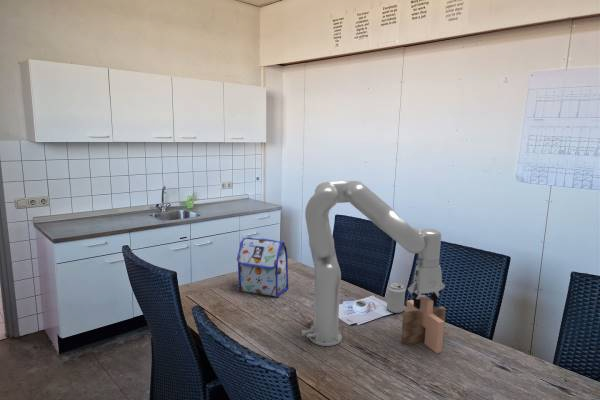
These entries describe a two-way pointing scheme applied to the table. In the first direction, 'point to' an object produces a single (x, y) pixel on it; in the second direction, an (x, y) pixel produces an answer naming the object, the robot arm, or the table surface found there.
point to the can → (396, 298)
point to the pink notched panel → (429, 323)
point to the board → (417, 325)
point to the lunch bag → (262, 266)
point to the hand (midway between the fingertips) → (425, 306)
